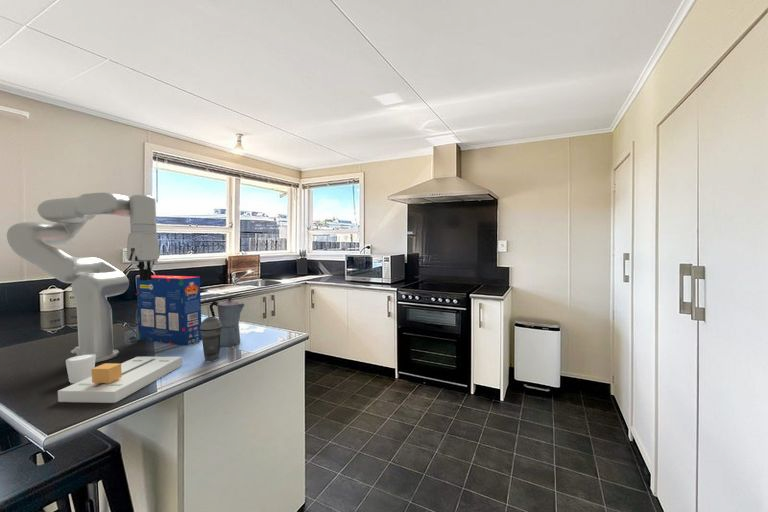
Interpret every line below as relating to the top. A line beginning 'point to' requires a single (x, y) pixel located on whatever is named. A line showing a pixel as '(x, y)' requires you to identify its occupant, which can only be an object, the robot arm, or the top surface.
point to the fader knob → (106, 373)
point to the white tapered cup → (80, 367)
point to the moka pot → (228, 320)
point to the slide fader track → (121, 381)
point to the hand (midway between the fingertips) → (145, 280)
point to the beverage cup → (211, 337)
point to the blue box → (169, 309)
